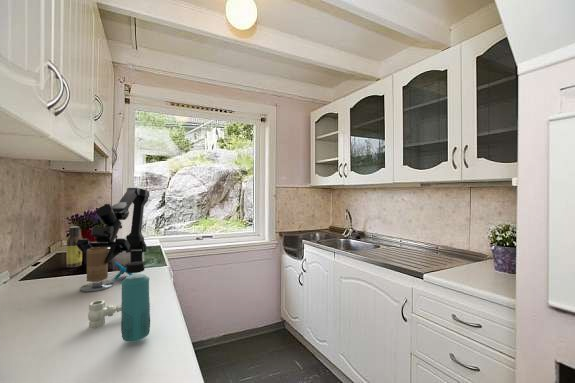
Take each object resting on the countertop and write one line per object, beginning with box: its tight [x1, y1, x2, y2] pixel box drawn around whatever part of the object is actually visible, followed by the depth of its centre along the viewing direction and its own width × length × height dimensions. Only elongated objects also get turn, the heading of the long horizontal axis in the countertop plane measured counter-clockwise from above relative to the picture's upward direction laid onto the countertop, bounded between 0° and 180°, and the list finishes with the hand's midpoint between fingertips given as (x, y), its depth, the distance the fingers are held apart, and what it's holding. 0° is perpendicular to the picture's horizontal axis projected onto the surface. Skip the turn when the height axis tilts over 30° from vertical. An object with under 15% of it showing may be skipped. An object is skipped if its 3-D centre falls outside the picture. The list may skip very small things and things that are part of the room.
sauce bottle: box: [65, 226, 83, 269], centre depth 140 cm, size 6×6×20 cm
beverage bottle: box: [120, 261, 151, 342], centre depth 71 cm, size 6×7×20 cm
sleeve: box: [86, 247, 109, 283], centre depth 110 cm, size 6×6×12 cm
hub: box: [79, 280, 115, 293], centre depth 110 cm, size 11×11×4 cm
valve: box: [87, 299, 122, 330], centre depth 82 cm, size 7×7×12 cm
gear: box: [113, 261, 134, 281], centre depth 121 cm, size 11×6×10 cm
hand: (95, 263), depth 109 cm, fingers closed on sleeve, 7 cm apart
